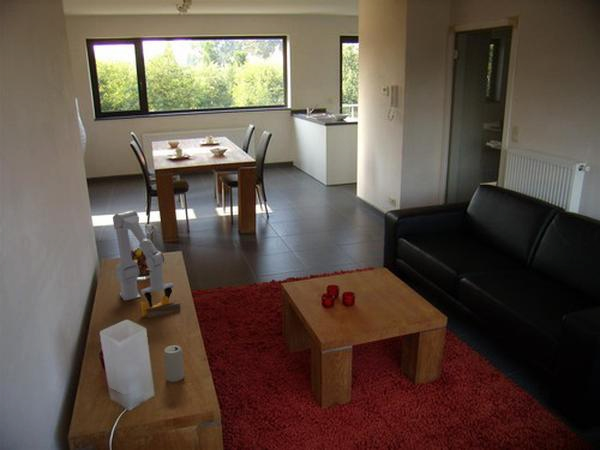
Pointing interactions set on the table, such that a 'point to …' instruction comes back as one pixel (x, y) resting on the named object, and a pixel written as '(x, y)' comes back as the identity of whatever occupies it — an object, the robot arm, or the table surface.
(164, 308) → the bar
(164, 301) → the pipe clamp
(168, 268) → the table surface
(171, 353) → the beverage can
